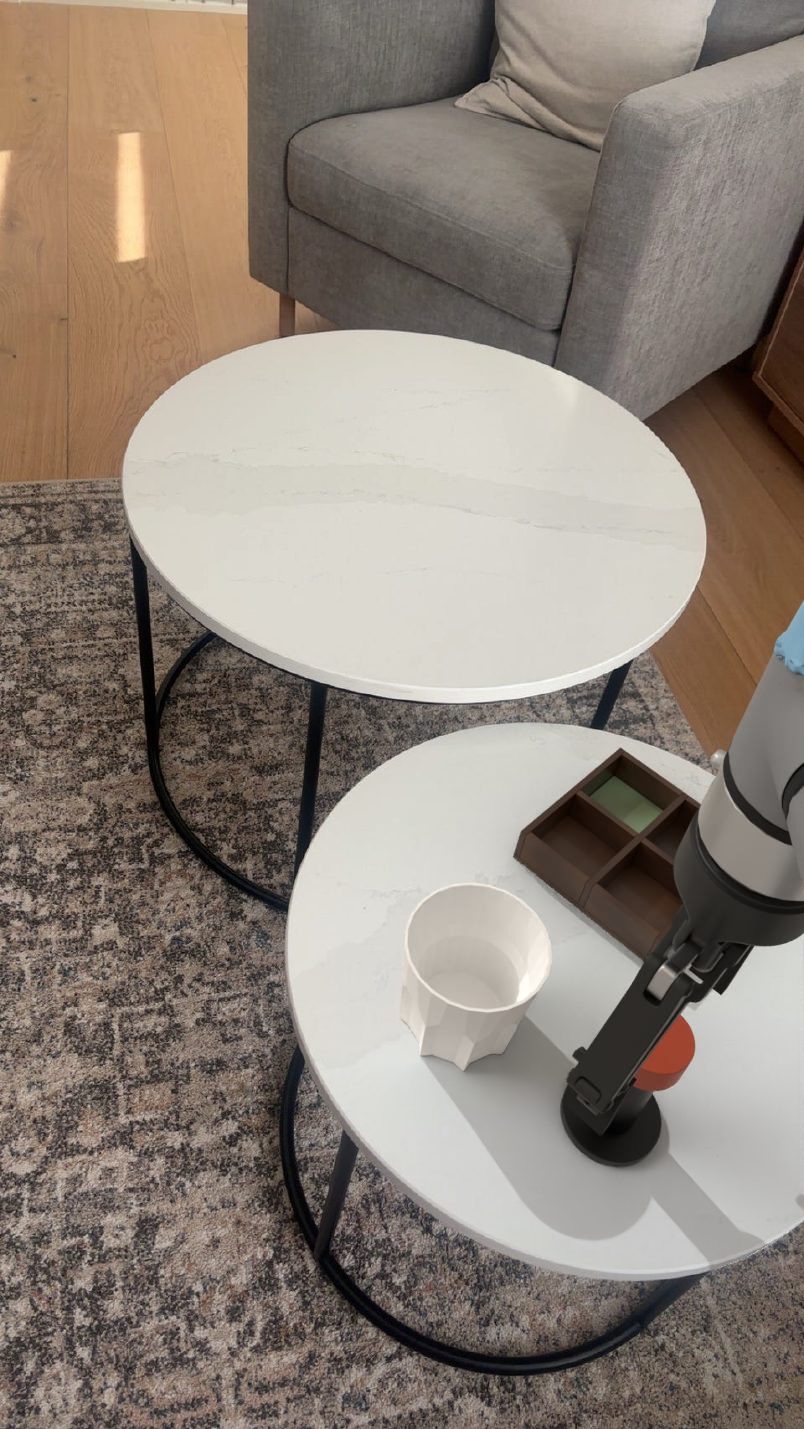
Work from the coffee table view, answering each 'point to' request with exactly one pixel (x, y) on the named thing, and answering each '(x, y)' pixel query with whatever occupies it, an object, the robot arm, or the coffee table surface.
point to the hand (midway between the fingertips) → (649, 1043)
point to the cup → (471, 970)
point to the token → (668, 1059)
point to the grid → (614, 849)
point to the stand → (617, 1130)
